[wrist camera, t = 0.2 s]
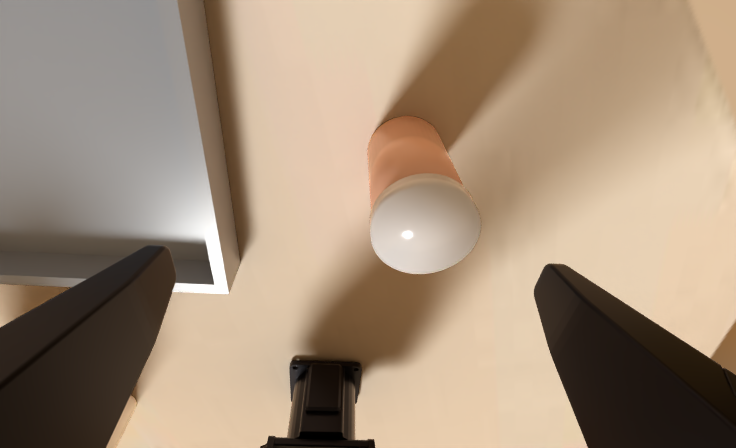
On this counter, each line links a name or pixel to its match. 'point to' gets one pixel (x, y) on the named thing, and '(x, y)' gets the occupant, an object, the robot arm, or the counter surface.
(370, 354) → the counter surface
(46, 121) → the tray
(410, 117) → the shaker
